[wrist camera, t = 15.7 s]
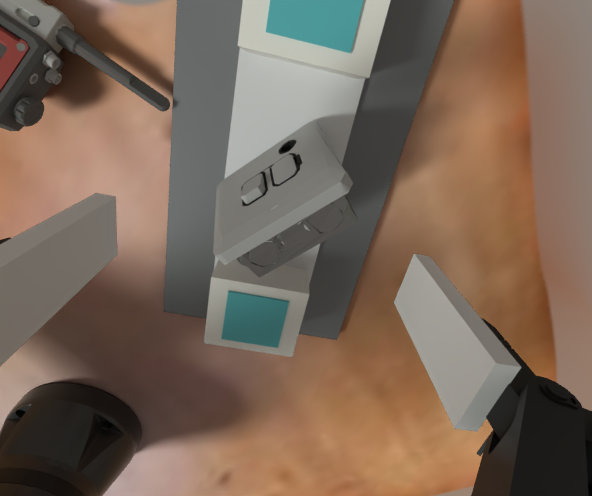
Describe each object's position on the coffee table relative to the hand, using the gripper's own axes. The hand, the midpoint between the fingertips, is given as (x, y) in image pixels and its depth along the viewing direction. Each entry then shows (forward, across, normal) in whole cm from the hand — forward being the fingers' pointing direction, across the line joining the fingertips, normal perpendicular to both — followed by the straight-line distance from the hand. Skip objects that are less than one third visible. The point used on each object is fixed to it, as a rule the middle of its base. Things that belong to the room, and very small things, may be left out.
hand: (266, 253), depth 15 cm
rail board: (+15, 0, 0) cm, 15 cm away
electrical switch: (+14, -1, 0) cm, 14 cm away
